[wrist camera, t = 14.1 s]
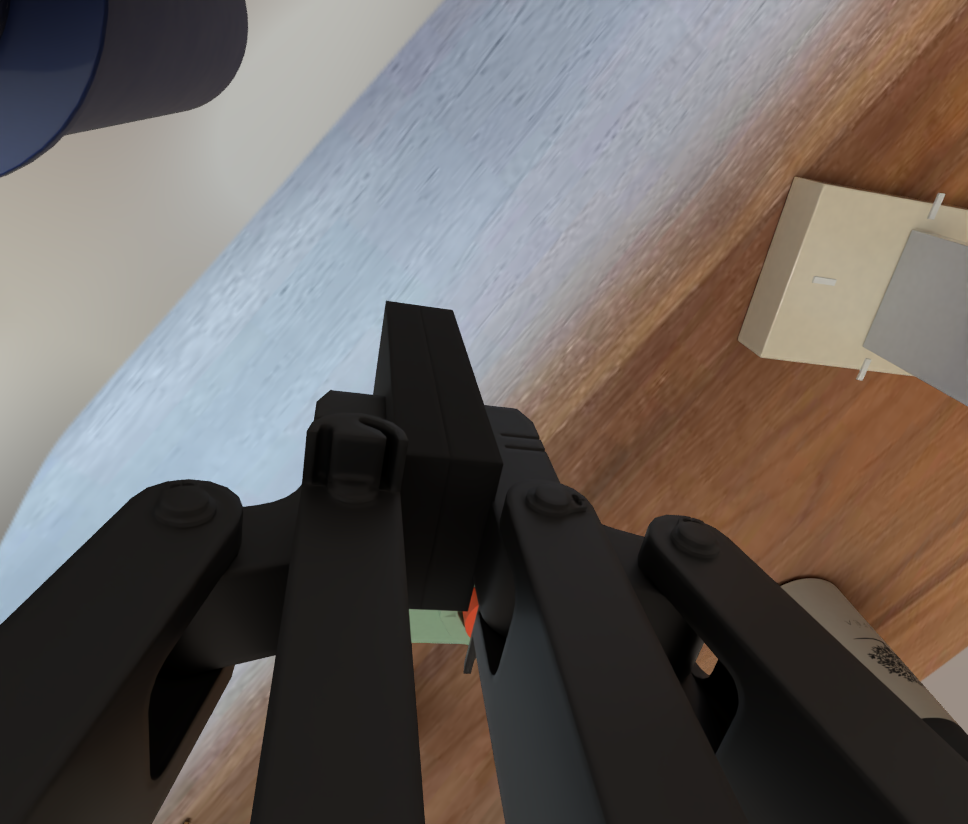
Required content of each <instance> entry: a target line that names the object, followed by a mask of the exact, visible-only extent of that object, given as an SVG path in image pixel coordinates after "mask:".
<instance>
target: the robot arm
mask: <svg viewBox="0 0 968 824" xmlns="http://www.w3.org/2000/svg"><path fill="white" fill-rule="evenodd" d="M10 1H11V0H0V39H1V37H2V34H3V31H4V29H5V25H6V22H7V18H8V14H9V8H10ZM474 585H475V590H476V595H477V600H478V605H479V606H478V610H477V614H476V618H475V622H474V626H473V630H472V634H471V638H470V642H469V646H468V650H467V654H466V658H465V663H464V673H465V674H471V670H472V666H473V663H474V660H475V659H476V658H477V663H478V669H479V675H480V681H481V686H482V692H483V698H484V703H485V709H486V715H487V721H488V726H489V732H490V738H491V743H492V749H493V755H494V761H495V766H496V772H497V778H498V784H499V789H500V795H501V801H502V806H503V812H504V818H505V824H968V762H967V761H966V760H965V759H964V758H963V757H962V756H961V755H960V754H958V753H957V752H956V751H955V750H954V749H953V748H952V747H951V746H950V745H949V744H948V743H947V742H946V741H945V740H944V739H942V738H941V737H940V736H939V735H938V734H937V733H936V732H935V731H934V730H933V729H932V728H931V727H930V726H929V725H928V724H926V723H925V722H924V721H923V720H922V719H921V718H920V717H919V716H918V715H917V714H916V713H915V712H914V711H913V710H911V709H910V708H909V707H908V706H907V705H906V704H905V703H904V702H903V701H902V700H901V699H900V698H899V697H898V696H897V695H895V694H894V693H893V692H892V691H891V690H890V689H889V688H888V687H887V686H886V685H885V684H884V683H883V682H882V681H881V680H879V679H878V678H877V677H876V676H875V675H874V674H873V673H872V672H871V671H870V670H869V669H868V668H867V667H866V666H865V665H863V664H862V663H861V662H860V661H859V660H858V659H857V658H856V657H855V656H854V655H853V654H852V653H851V652H850V651H849V650H847V649H846V648H845V647H844V646H843V645H842V644H841V643H840V642H839V641H838V640H837V639H836V638H835V637H834V636H833V635H831V634H830V633H829V632H828V631H827V630H826V629H825V628H824V627H823V626H822V625H821V624H820V623H819V622H818V621H817V620H815V619H814V618H813V617H812V616H811V615H810V614H809V613H808V612H807V611H806V610H805V609H804V608H803V607H802V606H801V605H799V604H798V603H797V602H796V601H795V600H794V599H793V598H792V597H791V596H790V595H789V594H788V593H787V592H786V591H785V590H783V589H782V588H781V587H780V586H779V585H778V584H777V583H776V582H775V581H774V580H773V579H772V578H771V577H770V576H769V575H767V574H766V573H765V572H764V571H763V570H762V569H761V568H760V567H759V566H758V565H757V564H756V563H755V562H754V561H753V560H751V559H750V558H749V557H748V556H747V555H746V554H745V553H744V552H743V551H742V550H741V549H740V548H739V547H738V546H737V545H735V544H734V543H733V542H732V541H731V540H730V539H729V538H728V537H726V536H725V535H724V534H722V533H721V532H720V531H718V530H717V529H716V528H714V527H712V526H710V525H708V524H705V523H704V522H703V521H701V520H698V519H695V518H690V517H687V516H679V515H664V516H661V517H657V518H655V519H654V520H653V521H652V522H651V523H650V524H649V526H648V529H647V531H646V534H645V537H643V536H639V535H635V534H632V533H628V532H625V531H621V530H617V529H614V528H611V527H608V526H605V525H602V524H601V522H600V520H599V518H598V516H597V514H596V512H595V510H594V508H593V506H592V505H591V504H590V503H589V501H588V500H587V499H586V498H585V497H584V496H583V495H581V494H580V493H578V492H577V491H576V490H574V489H573V488H570V487H568V486H565V485H563V484H560V482H559V480H558V477H557V475H556V473H555V471H554V468H553V466H552V464H551V462H550V459H549V457H548V455H547V453H546V452H545V448H544V446H543V444H542V442H541V440H539V435H538V433H537V430H536V428H535V426H534V424H533V422H532V421H531V420H529V419H528V418H527V417H526V416H525V415H524V414H522V413H521V412H520V411H519V410H518V409H514V408H505V407H496V406H487V405H484V403H483V400H482V397H481V394H480V391H479V388H478V385H477V382H476V379H475V376H474V373H473V370H472V367H471V364H470V361H469V358H468V355H467V352H466V349H465V346H464V343H463V340H462V336H461V333H460V330H459V327H458V324H457V321H456V318H455V315H454V312H453V310H448V309H441V308H433V307H426V306H419V305H412V304H405V303H398V302H391V301H386V305H385V312H384V319H383V326H382V334H381V341H380V348H379V356H378V363H377V370H376V377H375V385H374V392H373V395H369V394H360V393H351V392H342V391H333V390H330V391H329V392H328V393H326V394H325V395H324V396H323V397H322V398H320V399H319V400H318V401H317V403H316V410H315V416H314V422H312V424H311V425H310V427H309V428H308V430H307V436H306V447H305V457H304V468H303V479H302V485H301V486H300V487H299V488H298V489H297V490H296V491H295V492H294V493H292V494H290V495H289V496H287V497H285V498H283V499H280V500H277V501H275V502H271V503H266V504H261V505H255V506H247V507H242V504H241V501H240V498H239V497H238V496H237V495H236V494H235V493H233V492H232V491H231V490H230V489H228V488H227V487H224V486H221V485H219V484H216V483H213V482H210V481H201V480H191V479H187V480H176V481H167V482H164V483H161V484H158V485H154V486H151V487H148V488H146V489H144V490H143V491H141V492H140V493H138V494H137V495H135V496H134V497H132V498H131V499H130V500H129V501H128V502H127V503H126V504H125V505H124V506H123V507H122V508H121V509H120V510H119V511H118V512H117V513H116V514H115V515H113V516H112V517H111V518H110V519H109V520H108V521H107V522H106V523H105V524H104V525H103V526H102V527H101V528H100V529H99V530H98V531H97V532H96V533H95V534H94V535H93V536H92V537H91V538H90V539H89V540H88V541H87V542H86V543H85V544H84V545H82V546H81V547H80V548H79V549H78V550H77V551H76V552H75V553H74V554H73V555H72V556H71V557H70V558H69V559H68V560H67V561H66V562H65V563H64V564H63V565H62V566H61V567H60V568H59V569H58V570H57V571H56V572H55V573H54V574H52V575H51V576H50V577H49V578H48V579H47V580H46V581H45V582H44V583H43V584H42V585H41V586H40V587H39V588H38V589H37V590H36V591H35V592H34V593H33V594H32V595H31V596H30V597H29V598H28V599H27V600H26V601H25V602H24V603H22V604H21V605H20V606H19V607H18V608H17V609H16V610H15V611H14V612H13V613H12V614H11V615H10V616H9V617H8V618H7V619H6V620H5V621H4V622H3V623H2V624H1V625H0V824H152V822H153V821H154V819H155V817H156V815H157V813H158V811H159V810H160V808H161V806H162V804H163V802H164V800H165V799H166V797H167V795H168V793H169V791H170V789H171V788H172V786H173V784H174V782H175V780H176V778H177V776H178V775H179V773H180V771H181V769H182V767H183V765H184V764H185V762H186V760H187V758H188V756H189V754H190V753H191V751H192V749H193V747H194V745H195V743H196V741H197V740H198V738H199V736H200V734H201V732H202V730H203V729H204V727H205V725H206V723H207V721H208V719H209V718H210V716H211V714H212V712H213V710H214V708H215V707H216V705H217V703H218V701H219V699H220V697H221V695H222V694H223V692H224V690H225V688H226V686H227V684H228V683H229V681H230V679H231V677H232V673H233V670H234V666H235V665H236V664H240V663H244V662H248V661H253V660H257V659H261V658H265V657H270V656H274V655H276V658H275V665H274V671H273V678H272V684H271V691H270V697H269V704H268V710H267V717H266V723H265V730H264V737H263V743H262V750H261V756H260V763H259V769H258V776H257V782H256V789H255V796H254V802H253V809H252V815H251V822H250V824H425V816H424V803H423V789H422V776H421V763H420V750H419V736H418V723H417V710H416V697H415V683H414V670H413V657H412V644H411V630H410V617H409V609H418V610H442V611H466V612H468V609H469V605H470V601H471V596H472V592H473V588H474ZM703 643H705V644H706V645H707V646H708V647H709V649H710V650H711V651H712V652H713V653H714V655H715V656H716V657H717V658H718V661H717V663H716V666H715V668H714V670H713V672H712V673H711V675H707V674H706V673H705V672H704V671H703V670H702V669H701V668H700V667H699V666H698V665H697V663H696V662H695V661H696V659H697V657H698V655H699V652H700V650H701V648H702V646H703Z"/></svg>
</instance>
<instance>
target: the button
mask: <svg viewBox="0 0 968 824" xmlns="http://www.w3.org/2000/svg"><path fill="white" fill-rule="evenodd" d="M478 606H479V605H478V600H477V595H476V590H475V587H474V588H473V592H472V596H471V601H470V605H469V609H468V612H466V611H463V618H464V624H465V630H466V633H467V634H468V636H469V637H470V638H471V634H472V630H473V626H474V622H475V618H476V614H477V610H478Z"/></svg>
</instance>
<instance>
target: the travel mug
mask: <svg viewBox="0 0 968 824" xmlns="http://www.w3.org/2000/svg"><path fill="white" fill-rule="evenodd" d="M780 587H781V588H782V589H783V590H785V591H786V592H787V593H788V594H789V595H790V596H791V597H792V598H793V599H794V600H795V601H796V602H797V603H798V604H799V605H801V606H802V607H803V608H804V609H805V610H806V611H807V612H808V613H809V614H810V615H811V616H812V617H813V618H814V619H815V620H817V621H818V622H819V623H820V624H821V625H822V626H823V627H824V628H825V629H826V630H827V631H828V632H829V633H830V634H831V635H833V636H834V637H835V638H836V639H837V640H838V641H839V642H840V643H841V644H842V645H843V646H844V647H845V648H846V649H847V650H849V651H850V652H851V653H852V654H853V655H854V656H855V657H856V658H857V659H858V660H859V661H860V662H861V663H862V664H863V665H865V666H866V667H867V668H868V669H869V670H870V671H871V672H872V673H873V674H874V675H875V676H876V677H877V678H878V679H879V680H881V681H882V682H883V683H884V684H885V685H886V686H887V687H888V688H889V689H890V690H891V691H892V692H893V693H894V694H895V695H897V696H898V697H899V698H900V699H901V700H902V701H903V702H904V703H905V704H906V705H907V706H908V707H909V708H910V709H911V710H913V711H914V712H915V713H916V714H917V715H918V716H919V717H920V718H921V719H922V720H923V721H924V722H925V723H926V724H928V725H929V726H930V727H931V728H932V729H933V730H934V731H935V732H936V733H937V734H938V735H939V736H940V737H941V738H942V739H944V740H945V741H946V742H947V743H948V744H949V745H950V746H951V747H952V748H953V749H954V750H955V751H956V752H957V753H958V754H960V755H961V756H962V757H963V758H964V759H965V760H966V761H967V762H968V735H967V734H966V733H965V732H964V730H963V729H962V728H961V727H960V726H959V725H958V724H957V722H956V721H955V720H954V719H953V718H952V717H951V716H950V715H949V713H947V711H946V710H945V709H944V708H943V707H942V706H941V704H940V703H939V702H938V701H937V700H936V699H935V698H934V697H933V695H932V694H931V693H930V692H929V691H928V690H927V689H926V688H925V686H924V685H923V684H922V683H921V682H920V681H919V680H918V679H917V677H916V676H915V675H914V674H913V673H912V672H911V671H910V670H909V668H908V667H907V666H906V665H905V664H904V663H903V662H902V661H901V659H900V658H899V657H898V656H897V655H896V654H895V653H894V652H893V650H892V649H891V648H890V647H889V646H888V645H887V644H886V643H885V641H884V640H883V639H882V638H881V637H880V636H879V635H878V633H877V632H876V631H875V630H874V629H873V628H872V627H871V626H870V624H869V623H868V622H867V621H866V620H865V619H864V618H863V617H862V615H861V614H860V613H859V612H858V611H857V610H856V609H855V608H854V606H853V605H852V604H851V603H850V602H849V601H848V600H847V599H846V597H845V596H844V595H843V594H842V593H841V592H840V591H839V590H838V588H837V587H836V586H834V585H833V584H832V583H830V582H828V581H825V580H822V579H816V578H807V579H800V580H796V581H792V582H789V583H787V584H784V585H782V586H780Z"/></svg>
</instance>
